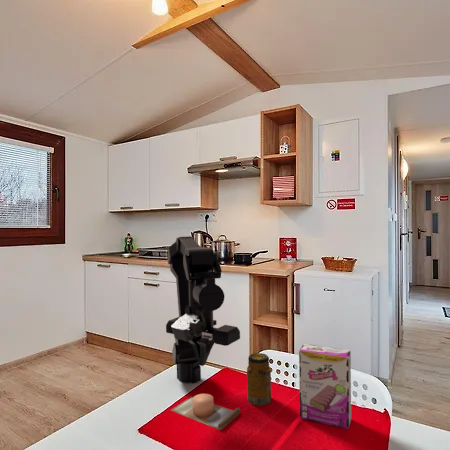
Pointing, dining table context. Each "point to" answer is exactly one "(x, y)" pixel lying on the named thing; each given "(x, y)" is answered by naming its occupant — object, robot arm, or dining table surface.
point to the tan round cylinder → (203, 405)
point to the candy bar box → (325, 385)
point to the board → (214, 420)
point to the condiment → (258, 379)
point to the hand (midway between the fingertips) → (202, 365)
